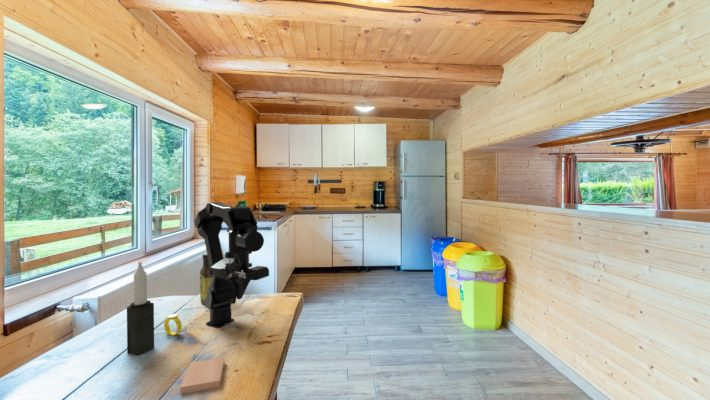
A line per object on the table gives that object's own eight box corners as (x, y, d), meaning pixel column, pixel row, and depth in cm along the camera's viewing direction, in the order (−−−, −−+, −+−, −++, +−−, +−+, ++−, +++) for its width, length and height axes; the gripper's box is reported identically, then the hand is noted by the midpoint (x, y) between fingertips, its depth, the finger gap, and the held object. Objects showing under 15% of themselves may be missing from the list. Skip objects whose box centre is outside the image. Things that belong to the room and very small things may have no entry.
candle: (156, 347, 85) (155, 260, 85) (138, 356, 81) (137, 264, 80) (143, 344, 87) (142, 259, 86) (125, 352, 82) (124, 263, 82)
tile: (190, 362, 75) (180, 387, 66) (224, 357, 78) (219, 380, 68) (190, 370, 75) (180, 396, 66) (224, 364, 78) (219, 389, 68)
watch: (162, 335, 93) (161, 316, 93) (170, 331, 96) (169, 313, 96) (176, 337, 91) (175, 318, 91) (184, 333, 94) (183, 314, 94)
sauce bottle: (203, 299, 123) (202, 251, 123) (219, 298, 124) (218, 251, 124) (197, 305, 117) (197, 255, 116) (214, 304, 118) (214, 254, 117)
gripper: (193, 250, 87) (194, 303, 87) (242, 254, 79) (242, 312, 80) (224, 244, 97) (225, 292, 97) (270, 248, 90) (270, 299, 90)
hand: (239, 298), depth 91 cm, fingers closed
